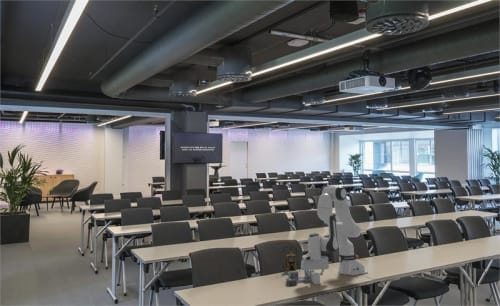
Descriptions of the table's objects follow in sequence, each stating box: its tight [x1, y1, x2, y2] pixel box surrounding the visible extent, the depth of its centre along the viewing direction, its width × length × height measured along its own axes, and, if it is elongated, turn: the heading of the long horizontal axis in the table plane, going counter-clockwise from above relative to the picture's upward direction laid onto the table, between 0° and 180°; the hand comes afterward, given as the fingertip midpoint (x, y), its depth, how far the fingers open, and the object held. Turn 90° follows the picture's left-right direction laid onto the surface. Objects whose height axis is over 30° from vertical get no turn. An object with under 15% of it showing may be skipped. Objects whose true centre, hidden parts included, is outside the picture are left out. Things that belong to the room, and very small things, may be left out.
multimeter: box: [282, 245, 301, 274], centre depth 314 cm, size 15×10×20 cm
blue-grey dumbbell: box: [285, 270, 316, 283], centre depth 289 cm, size 22×7×7 cm, turn 101°
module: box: [311, 271, 321, 285], centre depth 282 cm, size 4×5×7 cm
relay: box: [286, 279, 298, 287], centre depth 280 cm, size 6×4×4 cm, turn 103°
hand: (315, 275), depth 282 cm, fingers open, 8 cm apart
